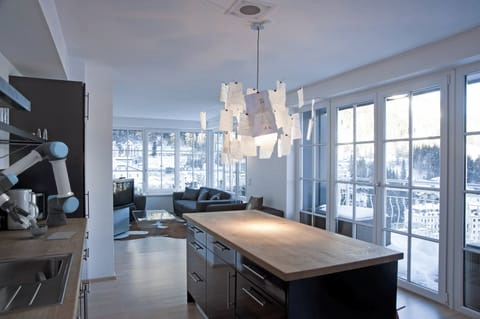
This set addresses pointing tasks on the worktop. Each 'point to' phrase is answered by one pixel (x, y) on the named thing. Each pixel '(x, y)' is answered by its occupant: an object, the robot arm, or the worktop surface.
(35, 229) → the mortar and pestle
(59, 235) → the rubber mat
